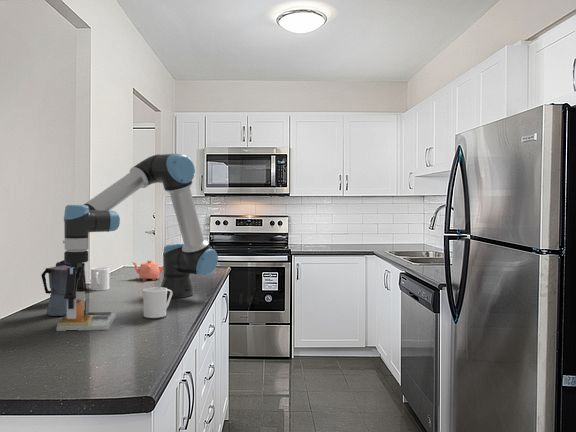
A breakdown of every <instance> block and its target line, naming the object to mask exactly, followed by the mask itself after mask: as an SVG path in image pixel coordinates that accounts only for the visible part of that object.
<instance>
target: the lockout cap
mask: <svg viewBox="0 0 576 432" xmlns="http://www.w3.org/2000/svg"><path fill="white" fill-rule="evenodd" d="M69 322H84V301H81V300H80V299H76V319H69Z"/></svg>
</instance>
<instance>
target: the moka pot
mask: <svg viewBox="0 0 576 432" xmlns="http://www.w3.org/2000/svg"><path fill="white" fill-rule="evenodd" d="M59 262H61V265H60V266H56V265H55V266H52V267H51V266H50V267H45V269H44V271H43V272H42V273H41V280H42V284H43V288H44V289H43V290H44V292H45V294H47V295H48V294H50V296H49V300H48V306H47V310H46V315H48V316H51V317H64V316H67V299H64V296H65V293H66V284H67V271H68V270H67V269H68V268H70V266H65V265H64V263H65V261H63V260H61V261H59ZM46 274H48V284H49V289H50V290H49V289H48V285H47V279H46Z"/></svg>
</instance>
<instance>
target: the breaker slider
mask: <svg viewBox="0 0 576 432" xmlns="http://www.w3.org/2000/svg"><path fill="white" fill-rule="evenodd" d="M88 312H89V299H88V298H85V310H84V315H88Z"/></svg>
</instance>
